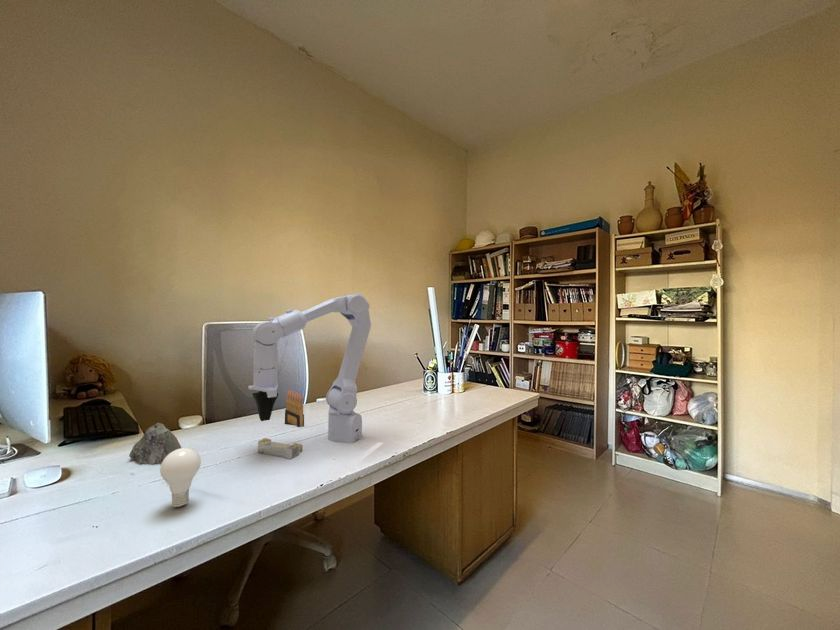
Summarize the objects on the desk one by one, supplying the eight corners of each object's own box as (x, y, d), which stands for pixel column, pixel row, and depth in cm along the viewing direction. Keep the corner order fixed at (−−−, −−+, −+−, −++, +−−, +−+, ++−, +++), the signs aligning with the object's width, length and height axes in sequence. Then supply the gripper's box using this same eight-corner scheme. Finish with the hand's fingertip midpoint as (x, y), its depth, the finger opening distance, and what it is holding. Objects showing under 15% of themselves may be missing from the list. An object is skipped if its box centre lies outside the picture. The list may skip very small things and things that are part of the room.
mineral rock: (130, 458, 85) (131, 419, 85) (181, 448, 92) (182, 412, 92) (124, 477, 75) (126, 433, 75) (183, 465, 81) (184, 424, 81)
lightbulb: (168, 520, 59) (169, 458, 59) (153, 508, 62) (154, 450, 63) (206, 503, 64) (207, 447, 65) (190, 494, 68) (191, 440, 68)
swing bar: (255, 452, 86) (255, 440, 86) (264, 447, 89) (264, 436, 89) (290, 459, 82) (291, 446, 82) (299, 454, 85) (299, 442, 85)
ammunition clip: (304, 430, 108) (304, 393, 108) (298, 431, 106) (299, 394, 107) (289, 422, 115) (290, 388, 115) (284, 424, 114) (285, 389, 114)
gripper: (243, 365, 90) (242, 416, 89) (255, 373, 78) (254, 430, 78) (271, 363, 94) (270, 411, 94) (285, 370, 83) (285, 424, 82)
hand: (264, 419), depth 86 cm, fingers closed
